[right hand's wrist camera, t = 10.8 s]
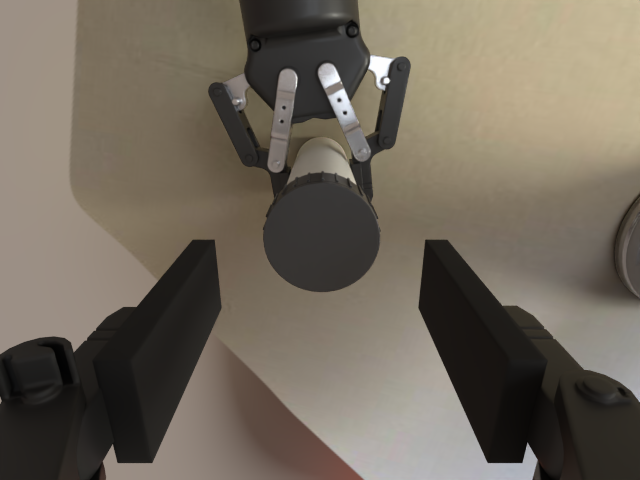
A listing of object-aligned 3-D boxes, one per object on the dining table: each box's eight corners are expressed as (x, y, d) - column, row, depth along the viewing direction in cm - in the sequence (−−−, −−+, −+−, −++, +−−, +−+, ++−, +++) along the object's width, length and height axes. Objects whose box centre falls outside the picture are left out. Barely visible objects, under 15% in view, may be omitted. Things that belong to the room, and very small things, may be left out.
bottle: (340, 131, 35) (361, 177, 17) (351, 181, 36) (379, 271, 19) (290, 143, 35) (259, 200, 17) (302, 192, 37) (285, 290, 19)
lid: (364, 159, 19) (370, 168, 16) (383, 260, 20) (390, 281, 18) (255, 183, 19) (246, 196, 17) (283, 281, 21) (279, 303, 19)
